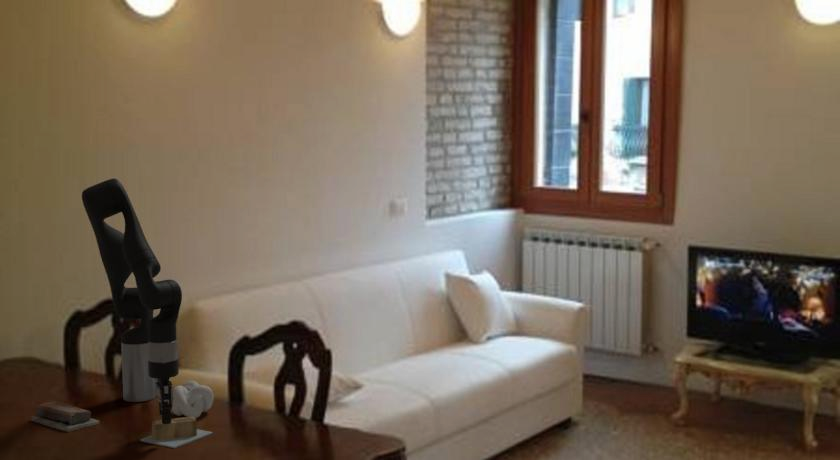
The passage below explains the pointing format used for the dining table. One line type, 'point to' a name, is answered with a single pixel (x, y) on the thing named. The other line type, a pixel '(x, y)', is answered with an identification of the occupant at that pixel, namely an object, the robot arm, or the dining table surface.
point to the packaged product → (63, 416)
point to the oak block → (174, 428)
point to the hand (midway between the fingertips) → (165, 419)
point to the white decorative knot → (191, 399)
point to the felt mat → (177, 439)
